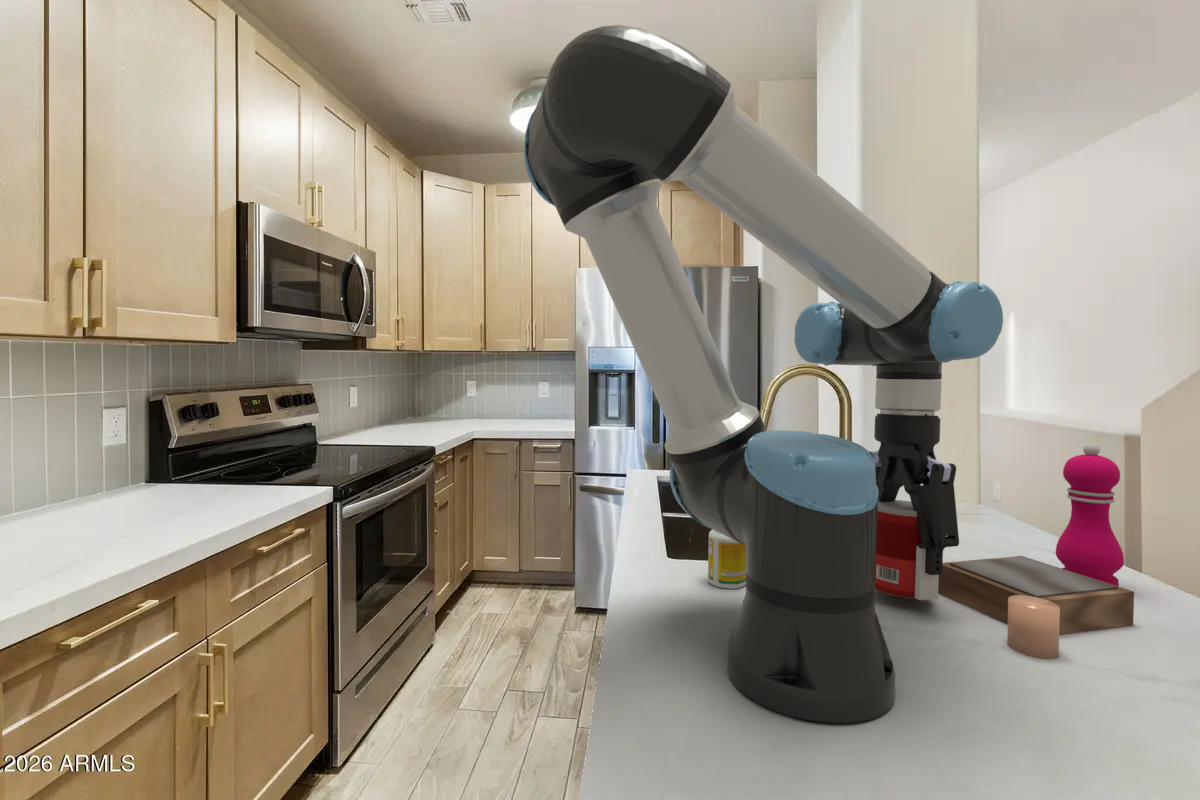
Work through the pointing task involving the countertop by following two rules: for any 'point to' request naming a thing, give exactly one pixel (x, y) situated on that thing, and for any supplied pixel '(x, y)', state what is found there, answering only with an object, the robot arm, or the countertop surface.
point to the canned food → (896, 548)
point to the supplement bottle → (726, 561)
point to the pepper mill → (1090, 518)
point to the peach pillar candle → (1033, 626)
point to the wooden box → (1037, 591)
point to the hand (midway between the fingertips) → (901, 586)
